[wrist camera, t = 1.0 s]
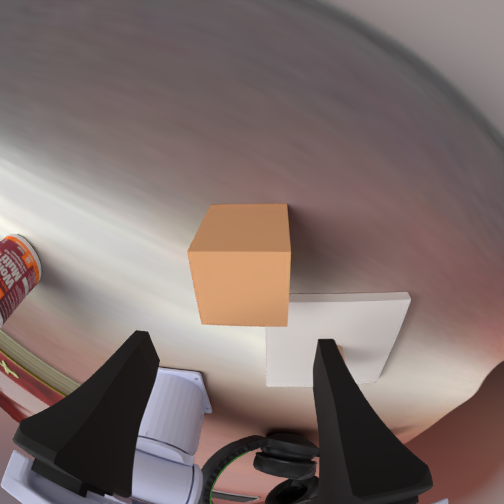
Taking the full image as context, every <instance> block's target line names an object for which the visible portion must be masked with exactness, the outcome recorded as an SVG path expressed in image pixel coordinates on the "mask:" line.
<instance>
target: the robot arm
mask: <svg viewBox="0 0 504 504" xmlns="http://www.w3.org/2000/svg"><path fill="white" fill-rule="evenodd" d="M159 362H160V360H159V357H158V355H157V353H156V350H155V348H154V345H153V343H152V340H151V338H150V335H149V333H148V332H146V331H138V330H136V331H135V332H134V333H133V334H132V335H131V336H130V337H129V338H128V339H127V340H126V341H125V342H124V343H123V345H122V346H121V347H120V348H119V349H118V350H117V351H116V352H115V353H114V354H113V355H112V356H111V357H110V358H109V359H108V360H107V361H106V362H105V364H104V365H103V366H102V367H101V368H99V369H98V370H97V371H96V372H95V373H94V374H93V375H92V376H91V377H90V378H89V379H88V380H87V381H86V382H84V383H83V384H82V385H81V386H80V387H78V388H77V389H76V390H74V391H73V392H72V393H70V394H69V395H68V396H66V397H65V398H63V399H62V400H60V401H59V402H57V403H56V404H54V405H52V406H51V407H49V408H47V409H45V410H43V411H41V412H39V413H37V414H35V415H33V416H31V417H28V418H26V419H23V420H21V422H20V425H19V427H18V429H17V431H16V433H15V436H14V438H13V442H14V443H15V444H17V445H18V446H19V447H21V448H22V449H23V450H25V451H26V452H27V453H29V454H30V455H32V456H33V457H34V458H35V460H34V462H33V461H32V460H30V459H28V458H27V457H25V456H24V455H22V454H20V453H19V452H17V451H16V450H14V451H13V454H12V456H11V458H10V461H9V463H8V466H7V469H6V471H5V474H4V477H3V479H2V482H1V487H2V488H3V489H5V490H6V491H7V492H9V493H10V494H11V495H12V496H14V497H15V498H16V499H17V500H19V501H20V502H21V503H23V504H147V503H151V504H197V503H198V501H199V498H200V495H201V491H202V484H203V474H202V471H201V470H200V468H199V466H198V465H197V464H193V463H194V456H193V455H194V454H195V453H196V451H197V448H198V444H199V439H200V434H201V428H202V423H203V418H204V413H212V407H211V404H210V401H209V398H208V395H207V392H206V388H205V385H204V382H203V379H202V376H201V374H200V373H199V372H195V371H185V370H176V369H168V368H160V367H159ZM313 392H314V400H315V407H316V415H317V423H318V431H319V443H320V460H319V490H318V504H416V503H418V495H420V494H422V493H424V492H426V491H428V490H429V489H431V488H432V486H433V481H432V476H431V473H430V470H429V468H428V466H427V465H426V464H425V463H424V462H423V461H421V460H420V459H419V458H418V457H417V456H415V455H414V454H413V453H412V452H411V451H410V450H409V449H408V448H407V447H406V446H404V445H403V444H402V443H401V442H400V440H399V439H398V438H397V437H396V436H395V435H394V434H393V433H392V432H391V431H390V430H389V429H388V428H387V426H386V425H385V424H384V423H383V421H382V420H381V419H380V418H379V416H378V415H377V414H376V413H375V411H374V410H373V408H372V407H371V406H370V404H369V403H368V401H367V400H366V398H365V397H364V395H363V394H362V392H361V391H360V389H359V387H358V386H357V384H356V382H355V380H354V379H353V377H352V375H351V373H350V371H349V370H348V368H347V366H346V364H345V362H344V360H343V358H342V356H341V353H340V351H339V349H338V347H337V344H336V342H335V340H334V339H318V343H317V348H316V354H315V359H314V364H313ZM128 497H132V498H135V499H138V500H141V501H144V502H147V503H143V502H140V501H137V500H134V499H131V498H128ZM432 504H448V499H443V500H440V501H438V502H435V503H432Z"/></svg>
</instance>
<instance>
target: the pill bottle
mask: <svg viewBox="0 0 504 504" xmlns="http://www.w3.org/2000/svg"><path fill="white" fill-rule="evenodd" d="M41 273H42V271H41V264H40V260H39V258H38V256H37V254H36V252H35V251H34V249H33V248H32V246H31V245H30V244H29V243H28V242H27V241H26V240H25V239H24V238H23V237H21V236H19V235H16V234H11V235H8V236H7V237H5V238H4V239H3V240H2V241H0V328H1V327H2V326H3V324H4V323H5V322H6V320H7V319H8V318H9V317H10V315H11V314H12V313H13V312H14V310H15V309H16V308H17V307H18V305H19V304H20V303H21V302H22V301H23V299H24V298H25V297H26V296H27V295H28V294H29V292H30V291H31V290H32V289H33V288H34V287H35V285H36V284H37V283H38V282H39V280H40V278H41Z"/></svg>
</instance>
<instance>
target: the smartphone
mask: <svg viewBox="0 0 504 504" xmlns="http://www.w3.org/2000/svg"><path fill="white" fill-rule="evenodd" d="M211 497H213V498H218V499H224V500H230V501H237V502H245V503H247V502H251V501H254V500H258V499H259V496H251V495H243V494H235V493H229V492H223V491H217V490H212V494H211Z"/></svg>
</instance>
